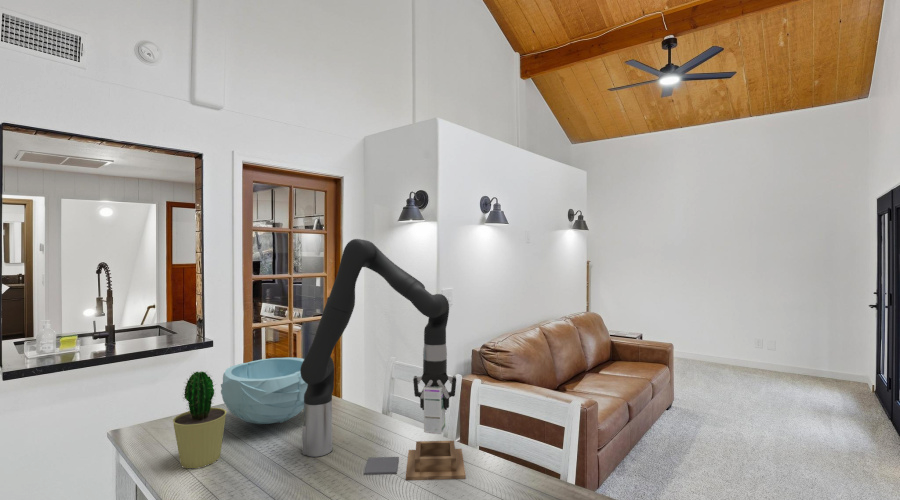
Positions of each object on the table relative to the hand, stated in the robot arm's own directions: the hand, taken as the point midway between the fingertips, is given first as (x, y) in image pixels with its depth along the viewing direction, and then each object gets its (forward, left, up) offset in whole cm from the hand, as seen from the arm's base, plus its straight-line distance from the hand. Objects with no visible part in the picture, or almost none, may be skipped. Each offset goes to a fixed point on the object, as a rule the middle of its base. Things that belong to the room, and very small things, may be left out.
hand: (434, 409), depth 145 cm
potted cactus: (-77, +7, -18) cm, 79 cm away
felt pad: (-17, 0, -18) cm, 25 cm away
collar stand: (0, 0, -18) cm, 18 cm away
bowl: (-65, +38, -18) cm, 77 cm away
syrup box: (0, 0, -7) cm, 7 cm away
